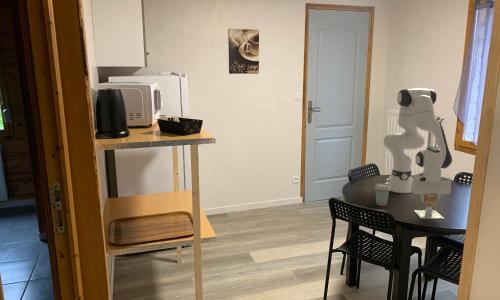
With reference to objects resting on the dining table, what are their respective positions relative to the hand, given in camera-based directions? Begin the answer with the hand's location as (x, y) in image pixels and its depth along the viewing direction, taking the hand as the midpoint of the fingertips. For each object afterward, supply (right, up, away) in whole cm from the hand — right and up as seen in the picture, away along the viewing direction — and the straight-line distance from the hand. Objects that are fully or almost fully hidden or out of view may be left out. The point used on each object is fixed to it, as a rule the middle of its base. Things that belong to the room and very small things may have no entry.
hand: (429, 201), depth 206 cm
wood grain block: (0, -2, 0) cm, 2 cm away
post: (0, -8, +2) cm, 8 cm away
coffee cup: (-20, -5, +20) cm, 28 cm away
